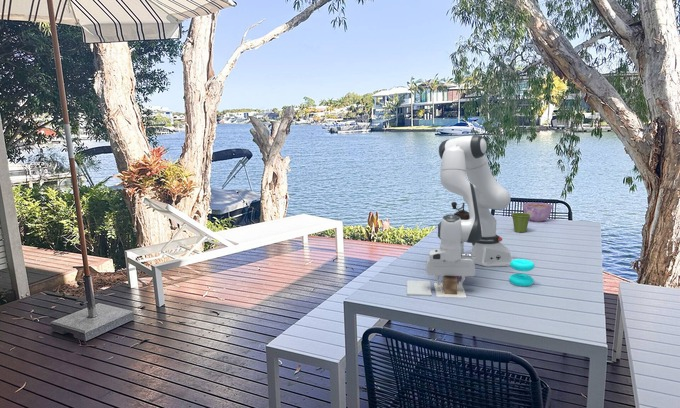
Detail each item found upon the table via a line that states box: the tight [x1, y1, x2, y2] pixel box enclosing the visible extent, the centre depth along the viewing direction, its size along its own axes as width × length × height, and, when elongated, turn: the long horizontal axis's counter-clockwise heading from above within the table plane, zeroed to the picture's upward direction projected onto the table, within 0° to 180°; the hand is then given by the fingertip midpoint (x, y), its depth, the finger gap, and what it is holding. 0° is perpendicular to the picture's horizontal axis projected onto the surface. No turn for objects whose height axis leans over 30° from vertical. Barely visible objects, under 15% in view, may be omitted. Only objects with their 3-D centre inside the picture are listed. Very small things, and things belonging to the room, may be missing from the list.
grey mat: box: [406, 280, 433, 297], centre depth 190 cm, size 10×16×1 cm, turn 172°
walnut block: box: [442, 276, 458, 294], centre depth 188 cm, size 5×10×6 cm, turn 172°
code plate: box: [433, 282, 467, 298], centre depth 188 cm, size 12×16×1 cm
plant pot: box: [511, 212, 531, 233], centre depth 286 cm, size 12×12×11 cm
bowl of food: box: [522, 201, 554, 223], centre depth 317 cm, size 20×20×12 cm
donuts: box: [508, 258, 536, 287], centre depth 194 cm, size 10×10×10 cm
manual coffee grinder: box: [450, 201, 470, 220], centre depth 302 cm, size 16×11×18 cm
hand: (449, 285), depth 188 cm, fingers open, 7 cm apart
